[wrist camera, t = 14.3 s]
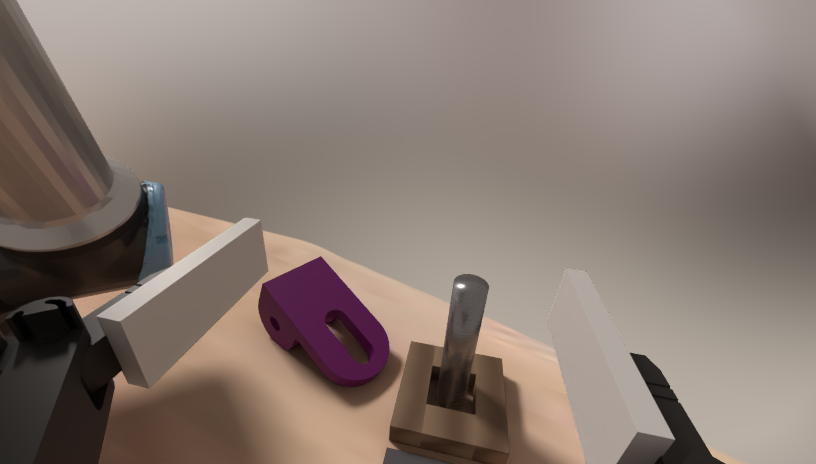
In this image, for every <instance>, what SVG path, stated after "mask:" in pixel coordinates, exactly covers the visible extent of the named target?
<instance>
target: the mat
mask: <svg viewBox="0 0 816 464" xmlns="http://www.w3.org/2000/svg"><path fill="white" fill-rule="evenodd" d="M383 464H452V463H448V462H444V461H440V460H436V459H432V458H428V457H424V456H419V455H415V454H411V453H407V452H403V451H399V450H395V449H391V448H387V449H386V454H385V458H384V462H383Z"/></svg>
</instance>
